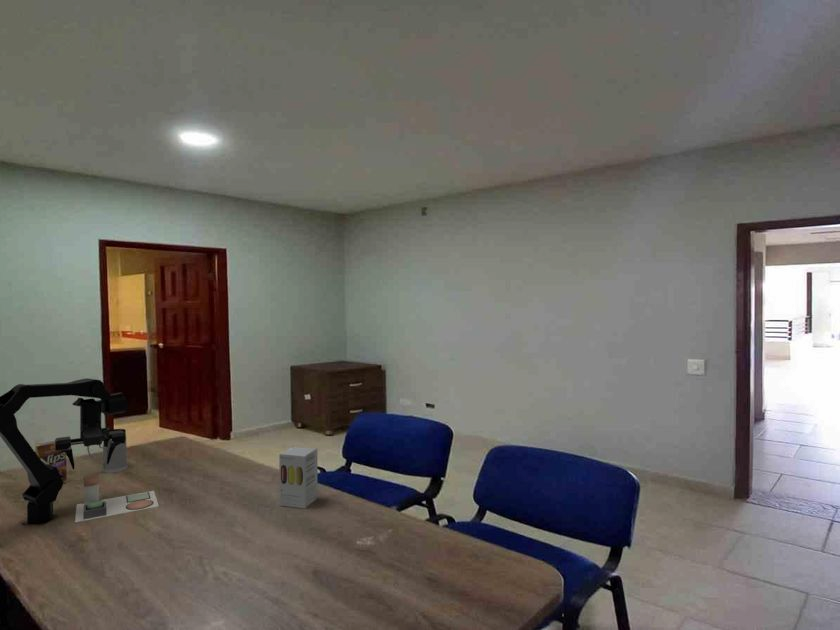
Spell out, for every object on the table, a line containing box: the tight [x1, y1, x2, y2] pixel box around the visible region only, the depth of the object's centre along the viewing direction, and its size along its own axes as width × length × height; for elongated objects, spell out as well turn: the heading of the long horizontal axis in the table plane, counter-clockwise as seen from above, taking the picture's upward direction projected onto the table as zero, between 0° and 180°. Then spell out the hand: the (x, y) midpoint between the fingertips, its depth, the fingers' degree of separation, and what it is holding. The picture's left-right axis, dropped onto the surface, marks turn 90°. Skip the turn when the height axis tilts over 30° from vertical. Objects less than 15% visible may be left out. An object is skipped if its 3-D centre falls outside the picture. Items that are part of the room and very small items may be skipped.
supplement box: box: [278, 446, 318, 509], centre depth 165 cm, size 10×9×17 cm
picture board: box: [74, 490, 160, 523], centre depth 162 cm, size 22×16×1 cm
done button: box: [87, 499, 103, 510], centre depth 155 cm, size 4×4×2 cm
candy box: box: [34, 440, 68, 484], centre depth 182 cm, size 9×4×15 cm, turn 134°
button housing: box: [83, 501, 106, 519], centre depth 155 cm, size 6×6×2 cm
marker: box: [82, 473, 100, 505], centre depth 161 cm, size 4×4×10 cm
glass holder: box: [86, 428, 129, 474], centre depth 197 cm, size 9×14×15 cm, turn 148°
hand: (90, 466), depth 163 cm, fingers open, 9 cm apart
